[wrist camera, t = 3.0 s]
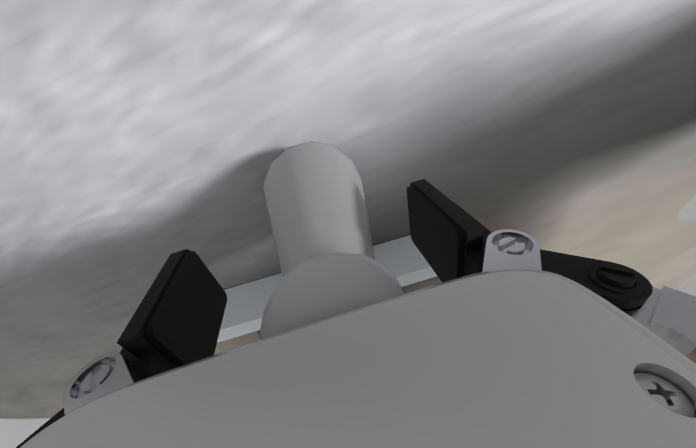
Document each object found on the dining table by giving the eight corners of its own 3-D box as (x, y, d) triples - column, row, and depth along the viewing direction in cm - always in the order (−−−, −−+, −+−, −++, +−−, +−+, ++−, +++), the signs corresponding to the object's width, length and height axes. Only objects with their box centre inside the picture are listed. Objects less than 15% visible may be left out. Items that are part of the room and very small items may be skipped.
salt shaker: (332, 223, 19) (383, 425, 8) (256, 199, 17) (196, 431, 6) (367, 154, 17) (503, 314, 6) (285, 115, 15) (267, 258, 4)
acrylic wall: (437, 227, 21) (464, 256, 18) (437, 237, 22) (463, 268, 19) (185, 301, 20) (165, 346, 17) (193, 310, 21) (175, 355, 18)
